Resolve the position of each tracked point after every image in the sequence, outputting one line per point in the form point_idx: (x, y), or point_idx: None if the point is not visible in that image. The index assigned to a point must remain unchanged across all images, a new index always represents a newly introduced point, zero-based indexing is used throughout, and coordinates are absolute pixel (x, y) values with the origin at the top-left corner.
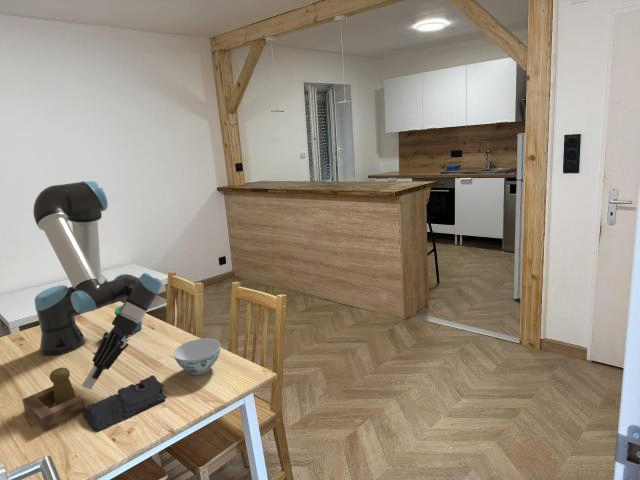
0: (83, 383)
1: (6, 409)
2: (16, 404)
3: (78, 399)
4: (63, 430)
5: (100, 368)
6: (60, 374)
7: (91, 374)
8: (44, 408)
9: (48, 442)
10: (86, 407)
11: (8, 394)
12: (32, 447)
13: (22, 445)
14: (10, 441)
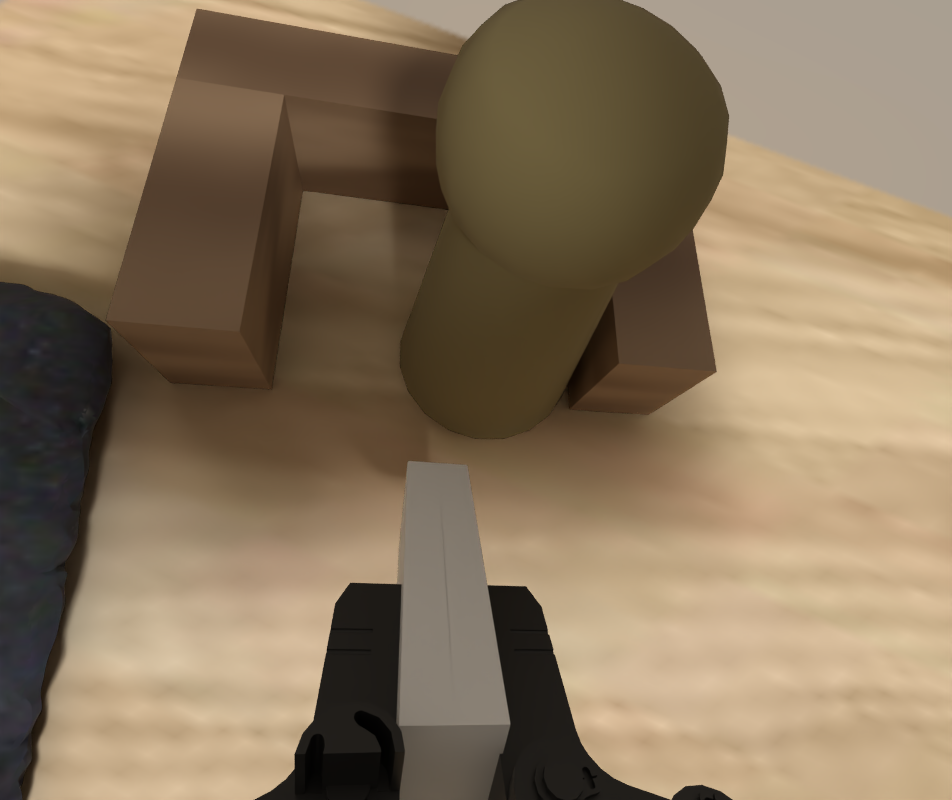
0: (457, 481)
1: (740, 143)
2: (758, 189)
3: (150, 287)
4: (87, 170)
5: (284, 786)
6: (467, 50)
7: (403, 587)
8: (339, 85)
9: (59, 70)
10: (42, 330)
11: (927, 220)
12: (124, 17)
13: (217, 10)
14: (338, 9)
